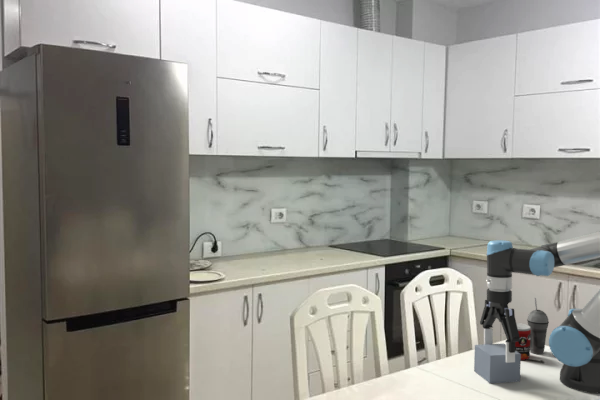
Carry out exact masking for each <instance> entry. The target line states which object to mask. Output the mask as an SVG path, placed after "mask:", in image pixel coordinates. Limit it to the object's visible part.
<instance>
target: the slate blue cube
mask: <svg viewBox="0 0 600 400" xmlns="http://www.w3.org/2000/svg"><path fill="white" fill-rule="evenodd" d="M473 358H474V363H473V364H474V365H473V371H474V372H475V373H476V374H477V375H478V376H480V377H481V378H482V379H483V380H485V381H486V382H487V383H489V384H497V383H499V384H500V383H513V382H514V383H515V382H517V383H518V382H519V383H520V382H521V362H522V360H521V354H520V353H518V352H517V351H515V362H510V363H507V362H506V343H502V342H501V343H493V344H484V343H483V344H482V343H481V344H474V357H473Z"/></svg>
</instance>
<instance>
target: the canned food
mask: <svg viewBox="0 0 600 400" xmlns="http://www.w3.org/2000/svg"><path fill="white" fill-rule="evenodd" d="M516 324H517V328H518V332H519V337H520V341H518V342H515V351H517V352H518V353H520V354H521V361H525V359H526V360H528V359H529V358H530V356H531V355H530V354H531V352H530V336H531V327H530V326H528V324H526V323H521V322H516Z"/></svg>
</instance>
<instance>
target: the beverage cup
mask: <svg viewBox="0 0 600 400" xmlns="http://www.w3.org/2000/svg"><path fill="white" fill-rule="evenodd" d="M537 305H538V304H537V298H536V297H534V307H535V308H534V309H533V310H531V311H530V312H529V314H528V315H527V319H526V321H527V325H528V326H530V327H531V336H530V354H534V355H544V352H545V347H546V339H547V334H548V333H547V331H548V327H549V322H550V321H549V317H548V314H547V313H546V312H545V311H544V310H541V309H538V306H537Z"/></svg>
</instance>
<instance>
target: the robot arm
mask: <svg viewBox="0 0 600 400" xmlns="http://www.w3.org/2000/svg"><path fill="white" fill-rule="evenodd" d="M486 248H487V249H486V280H485V281H486V287H487V289H486V299H485V300H484V307H483V310H482V314H481V318H480V320H479V324H480V325H481V326H482V328H483V344H494V343H493V340H494V339H493V337H494V336H493V333H494V332H493V331H494V329H493V328H494V326H493V324H494V323H495V321H496V319H497V320H498V322H499V323H500V324H501V326H502V329H503V333H504V334H505V337H506V338H505V345H506V362H507V363H510V362H515V342H518V341H520V337H519V332H518V328H517V324H516V323H517V321H516V316H515V315H516V314H515V308H509V304H510V303H512V301H513V291H512V288H513V273H515V274H516V273H517V274H526V275H532V276H537V277H539V276H544V277H549V276H551V275H552V273H553V272H554V268H559V267H563V266H566V265H572V264H575V263H581V262H585V261H590V260H591V261H592V260H595V259H599V258H600V231H596V232H592V233H589V234H584V235H581V236H577V237H576V236H575V237H572V238H569V239H563V240H560V241H558V242H552V243H546V244H542V245H541V246H538V247H537V246H536V247H535V248H534V247H533V248H531V249H530V248H529V249H527V248H526V249H525V248H515V247H514V246H513V243H512V241H509V240H503V239H502V240H501V239H500V240H499V239H498V240H497V239H495V240H490V241H489V242H488V243H487V247H486ZM548 345H549V350H550V352H551V353H552V355H553V356H554V357H555V359H556V360H558V361H559V362H560V363H562V367H561V369H560V372H559V381H560V383H562V384H563V385H564V386H566V387H569V388H570V389H573V390H577V391H580V392H584V393H590V394H600V289H599V290H598V291H597V292H596V293H595V294H594V296H592V298H591V299H590V300H589V301H588V302H587V303H586V305H584V306H583V308H570V309H569V310H568V314H567V317H566V318H565V319H564V320H563V322H562V323H560V325H559V326H557V327H555V328H554V329H553V330H552V331H551V333H550V335H549V338H548Z"/></svg>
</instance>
